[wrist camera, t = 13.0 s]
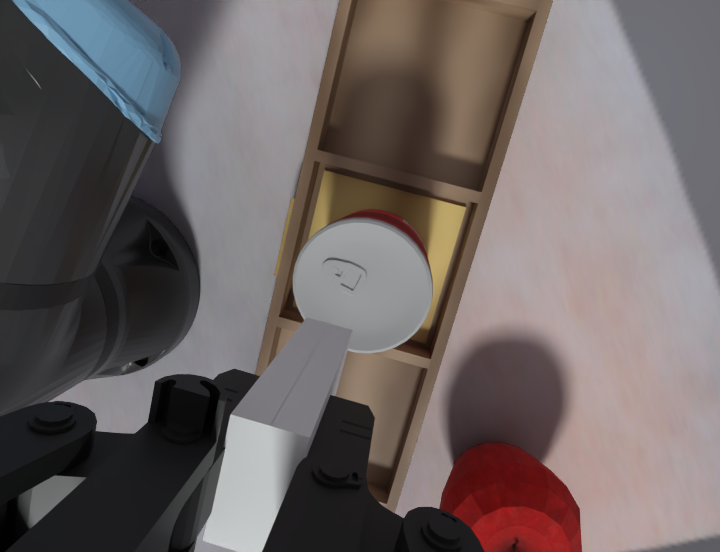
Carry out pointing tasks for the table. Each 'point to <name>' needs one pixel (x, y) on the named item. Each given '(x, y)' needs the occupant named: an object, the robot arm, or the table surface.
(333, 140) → the caddy
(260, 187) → the table surface
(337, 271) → the canned food
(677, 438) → the table surface
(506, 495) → the apple
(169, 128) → the table surface
